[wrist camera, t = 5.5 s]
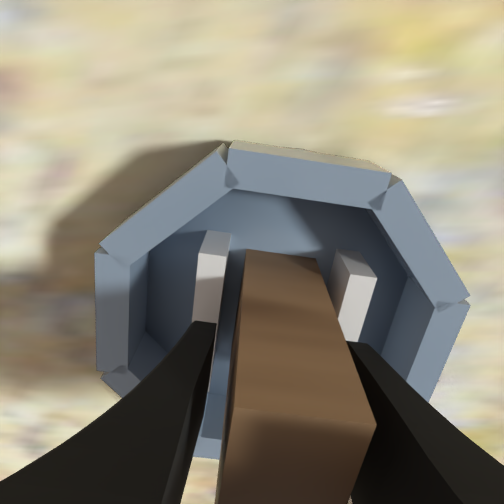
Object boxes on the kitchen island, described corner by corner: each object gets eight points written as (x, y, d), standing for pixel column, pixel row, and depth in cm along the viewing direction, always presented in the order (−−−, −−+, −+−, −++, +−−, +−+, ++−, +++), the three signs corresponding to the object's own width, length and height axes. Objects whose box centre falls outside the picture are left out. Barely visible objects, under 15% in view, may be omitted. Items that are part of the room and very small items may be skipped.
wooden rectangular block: (293, 352, 14) (324, 566, 8) (231, 344, 14) (209, 554, 8) (315, 258, 13) (376, 425, 6) (246, 248, 12) (234, 407, 6)
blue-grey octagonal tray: (375, 425, 16) (394, 480, 14) (121, 393, 16) (97, 445, 13) (468, 174, 12) (519, 192, 10) (125, 121, 11) (92, 127, 9)
